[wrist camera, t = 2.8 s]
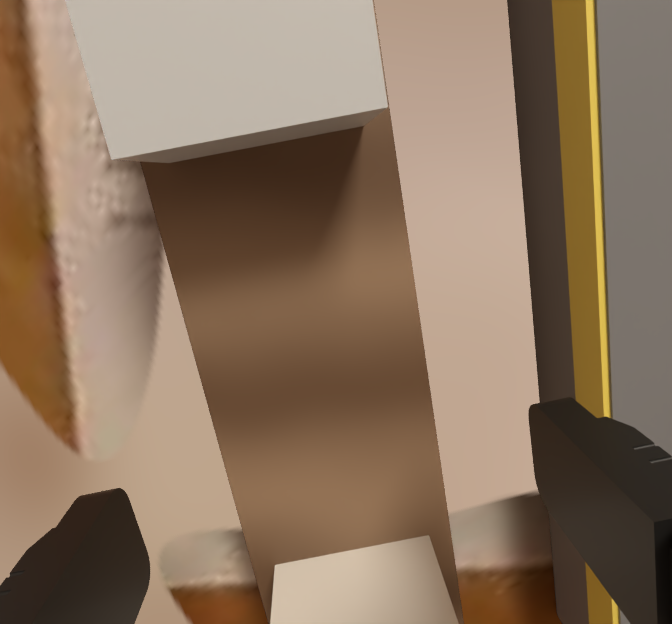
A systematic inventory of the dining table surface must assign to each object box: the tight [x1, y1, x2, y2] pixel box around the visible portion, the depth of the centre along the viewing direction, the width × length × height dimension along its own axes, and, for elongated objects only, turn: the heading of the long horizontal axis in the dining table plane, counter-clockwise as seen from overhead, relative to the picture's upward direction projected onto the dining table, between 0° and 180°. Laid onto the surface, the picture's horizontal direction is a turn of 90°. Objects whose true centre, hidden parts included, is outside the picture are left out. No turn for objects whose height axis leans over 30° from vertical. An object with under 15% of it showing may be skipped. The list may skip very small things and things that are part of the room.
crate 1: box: [65, 0, 388, 163], centre depth 10 cm, size 4×5×4 cm
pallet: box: [140, 0, 464, 624], centre depth 17 cm, size 24×6×4 cm, turn 10°
